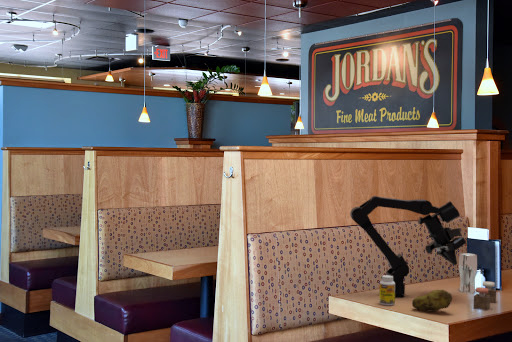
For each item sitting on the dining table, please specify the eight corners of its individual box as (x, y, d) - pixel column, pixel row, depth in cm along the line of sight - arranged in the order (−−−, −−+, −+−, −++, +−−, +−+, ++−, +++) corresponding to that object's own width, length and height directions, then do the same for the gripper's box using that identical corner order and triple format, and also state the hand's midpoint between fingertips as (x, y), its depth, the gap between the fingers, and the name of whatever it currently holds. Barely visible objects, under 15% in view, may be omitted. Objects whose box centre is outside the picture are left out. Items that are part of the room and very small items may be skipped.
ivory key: (483, 297, 233) (483, 283, 233) (481, 294, 237) (481, 281, 237) (495, 297, 232) (495, 284, 232) (493, 295, 236) (493, 281, 236)
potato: (421, 306, 224) (421, 284, 224) (454, 313, 215) (455, 290, 215) (409, 310, 218) (410, 287, 218) (443, 317, 209) (444, 293, 209)
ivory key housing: (482, 301, 233) (483, 290, 233) (480, 299, 237) (481, 287, 237) (495, 302, 232) (496, 290, 232) (493, 299, 236) (493, 288, 236)
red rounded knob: (474, 303, 223) (474, 288, 222) (477, 301, 226) (477, 286, 226) (486, 305, 220) (487, 290, 220) (489, 302, 224) (489, 288, 224)
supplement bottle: (378, 305, 225) (378, 276, 225) (380, 301, 230) (380, 274, 230) (394, 306, 223) (394, 278, 223) (395, 303, 228) (396, 275, 228)
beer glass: (477, 293, 247) (478, 256, 246) (459, 292, 248) (460, 255, 248) (475, 290, 254) (476, 253, 253) (457, 289, 255) (458, 252, 255)
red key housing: (473, 308, 223) (473, 296, 222) (476, 305, 226) (476, 293, 226) (486, 310, 220) (487, 297, 220) (489, 307, 224) (490, 295, 224)
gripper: (465, 216, 234) (485, 252, 234) (436, 221, 251) (455, 255, 251) (445, 230, 230) (465, 267, 230) (416, 235, 247) (435, 269, 247)
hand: (455, 264), depth 239 cm, fingers closed
